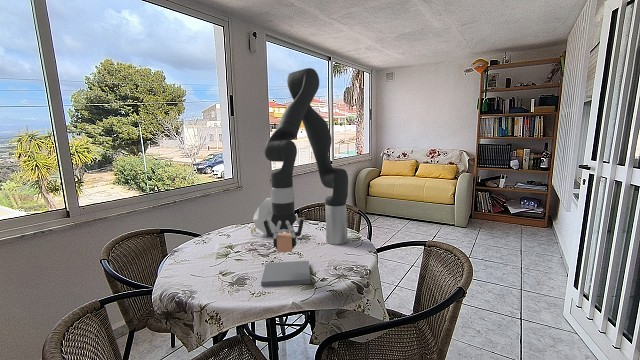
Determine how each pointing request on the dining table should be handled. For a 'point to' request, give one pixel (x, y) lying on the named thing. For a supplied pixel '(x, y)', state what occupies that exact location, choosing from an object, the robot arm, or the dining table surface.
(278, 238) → the cube
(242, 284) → the dining table surface
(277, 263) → the mat
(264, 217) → the chicken
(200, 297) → the dining table surface
